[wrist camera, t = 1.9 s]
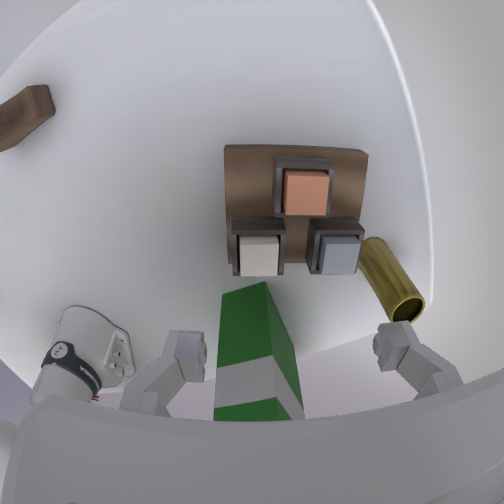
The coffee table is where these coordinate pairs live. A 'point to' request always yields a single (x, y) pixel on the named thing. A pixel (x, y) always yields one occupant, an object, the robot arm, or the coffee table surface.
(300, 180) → the terracotta button
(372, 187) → the coffee table surface
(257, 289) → the hardback book
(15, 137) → the decorative block
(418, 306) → the vase
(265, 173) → the block sorting tray
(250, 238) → the cream button
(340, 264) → the slate button
